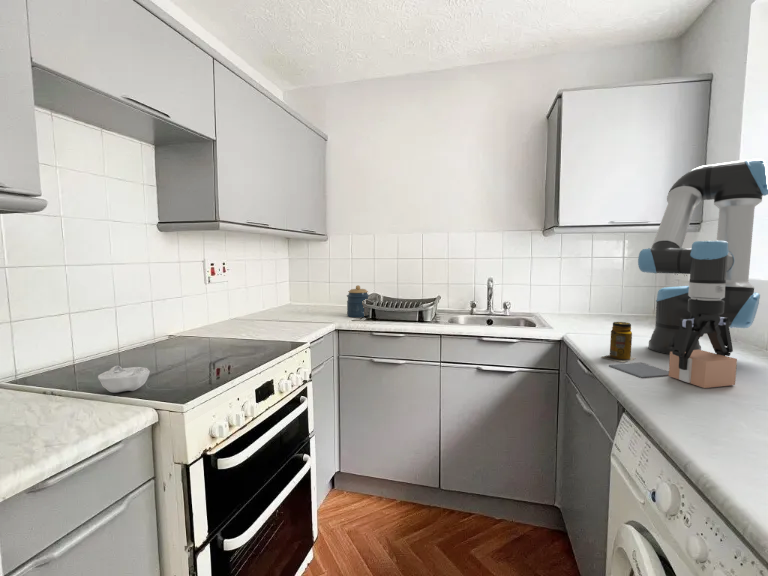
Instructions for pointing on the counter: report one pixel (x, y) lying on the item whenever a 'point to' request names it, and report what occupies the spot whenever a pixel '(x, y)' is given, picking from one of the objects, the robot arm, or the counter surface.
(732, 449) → the counter surface
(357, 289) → the canister
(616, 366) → the mat
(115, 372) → the cell model
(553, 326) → the counter surface
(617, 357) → the condiment
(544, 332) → the counter surface
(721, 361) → the salmon tan box
